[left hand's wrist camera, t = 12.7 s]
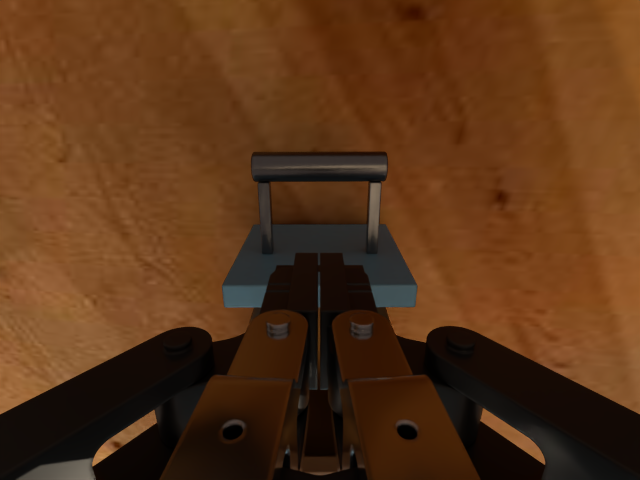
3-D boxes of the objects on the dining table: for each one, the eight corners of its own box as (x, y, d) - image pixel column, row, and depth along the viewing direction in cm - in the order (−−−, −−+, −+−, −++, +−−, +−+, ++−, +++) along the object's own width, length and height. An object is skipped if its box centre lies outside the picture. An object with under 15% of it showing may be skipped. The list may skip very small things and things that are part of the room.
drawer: (247, 141, 23) (208, 165, 15) (391, 141, 23) (430, 164, 15) (269, 448, 32) (251, 566, 24) (371, 448, 32) (388, 566, 24)
